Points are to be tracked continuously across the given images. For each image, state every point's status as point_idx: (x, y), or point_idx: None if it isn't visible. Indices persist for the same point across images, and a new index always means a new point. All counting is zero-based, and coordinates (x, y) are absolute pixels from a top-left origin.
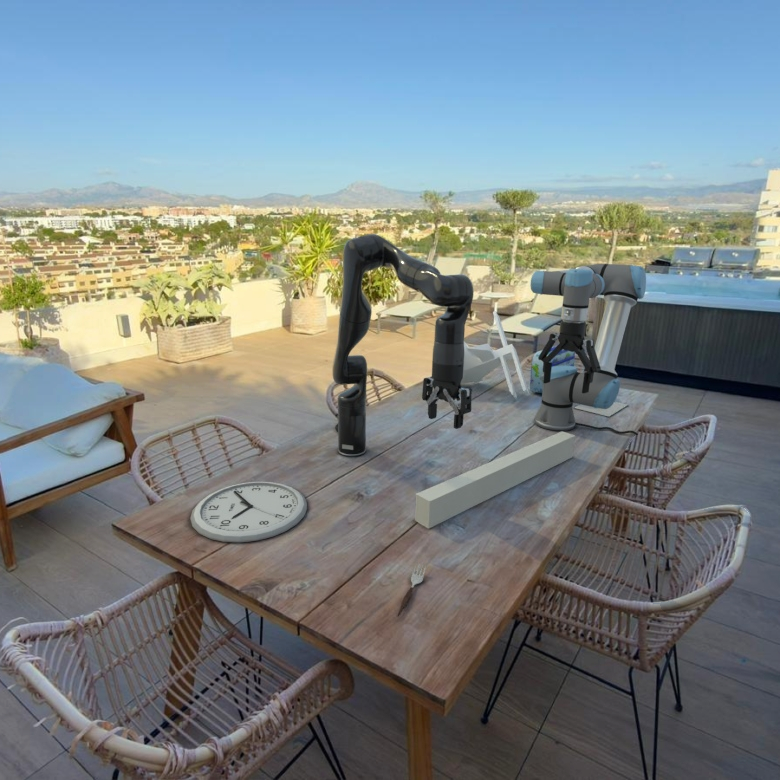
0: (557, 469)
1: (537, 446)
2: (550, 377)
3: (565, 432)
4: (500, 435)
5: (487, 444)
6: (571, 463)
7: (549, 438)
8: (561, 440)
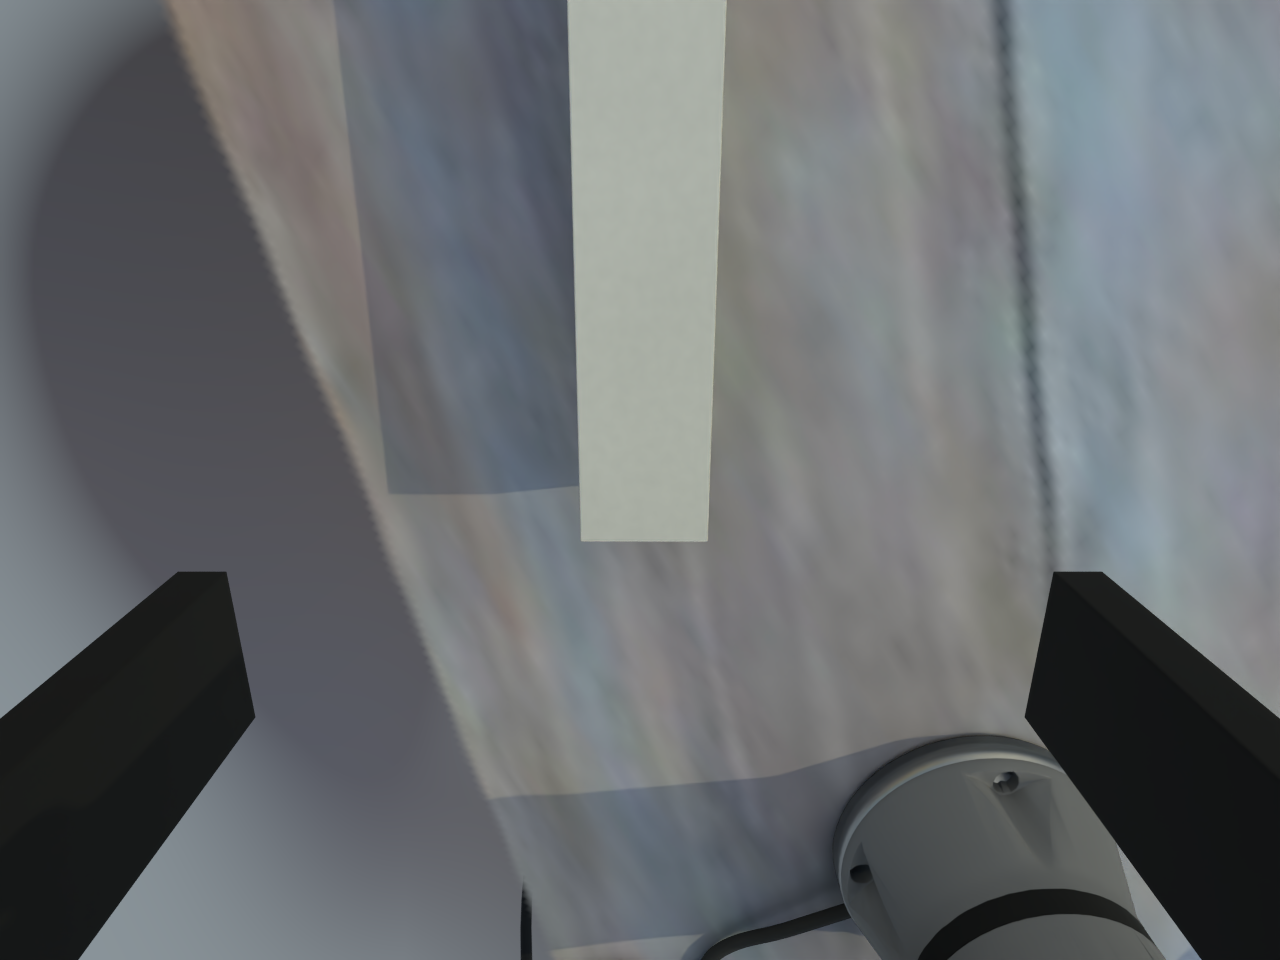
0: (544, 211)
1: (654, 29)
2: (1073, 782)
3: (671, 538)
4: (1171, 410)
5: (1173, 173)
6: (541, 382)
7: (688, 308)
8: (593, 353)
